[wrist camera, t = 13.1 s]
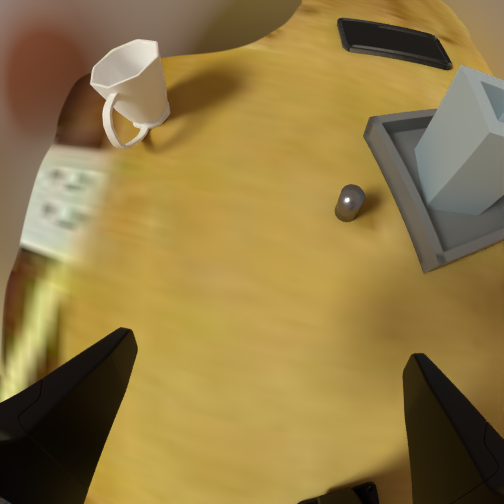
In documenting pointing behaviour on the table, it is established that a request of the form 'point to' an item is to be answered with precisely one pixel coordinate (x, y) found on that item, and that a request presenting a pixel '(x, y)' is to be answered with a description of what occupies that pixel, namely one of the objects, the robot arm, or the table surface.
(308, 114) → the table surface
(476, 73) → the sleeve
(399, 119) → the tray
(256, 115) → the table surface
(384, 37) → the phone
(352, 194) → the grey metal capsule
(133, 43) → the cup
